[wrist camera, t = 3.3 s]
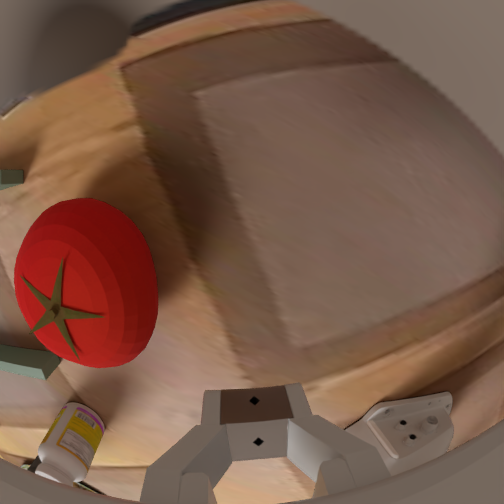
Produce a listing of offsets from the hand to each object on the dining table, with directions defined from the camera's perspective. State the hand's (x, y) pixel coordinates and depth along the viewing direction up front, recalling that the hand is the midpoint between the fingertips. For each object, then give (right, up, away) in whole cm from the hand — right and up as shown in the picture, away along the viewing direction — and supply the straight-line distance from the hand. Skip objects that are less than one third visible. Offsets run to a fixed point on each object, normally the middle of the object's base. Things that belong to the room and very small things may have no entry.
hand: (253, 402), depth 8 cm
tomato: (-14, +3, +18) cm, 23 cm away
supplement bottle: (-23, -18, +22) cm, 37 cm away
